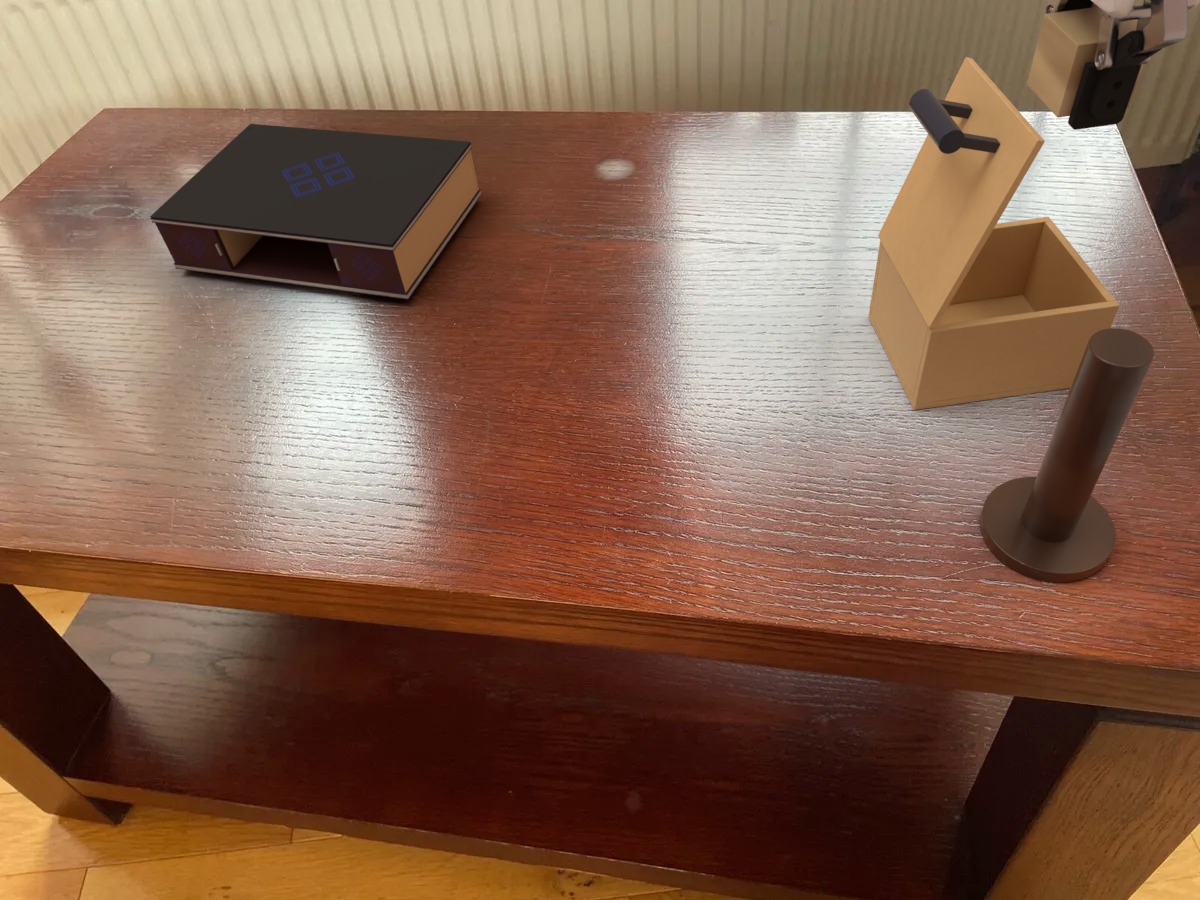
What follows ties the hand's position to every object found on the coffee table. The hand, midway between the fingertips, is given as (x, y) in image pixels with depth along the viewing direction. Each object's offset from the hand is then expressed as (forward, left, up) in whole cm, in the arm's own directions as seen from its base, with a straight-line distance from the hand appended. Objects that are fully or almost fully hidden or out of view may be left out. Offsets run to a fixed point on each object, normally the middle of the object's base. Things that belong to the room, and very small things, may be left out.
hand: (1075, 101), depth 59 cm
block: (0, 0, 0) cm, 0 cm away
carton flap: (+6, +3, -6) cm, 9 cm away
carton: (+2, +1, -20) cm, 20 cm away
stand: (-3, +19, -20) cm, 28 cm away
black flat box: (+62, -4, -20) cm, 66 cm away
